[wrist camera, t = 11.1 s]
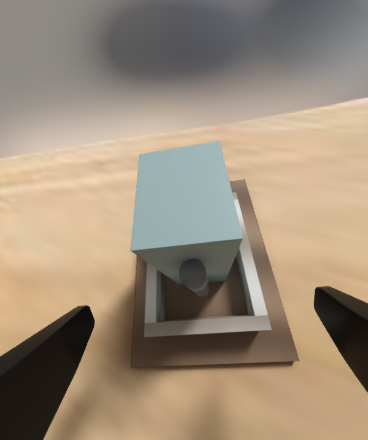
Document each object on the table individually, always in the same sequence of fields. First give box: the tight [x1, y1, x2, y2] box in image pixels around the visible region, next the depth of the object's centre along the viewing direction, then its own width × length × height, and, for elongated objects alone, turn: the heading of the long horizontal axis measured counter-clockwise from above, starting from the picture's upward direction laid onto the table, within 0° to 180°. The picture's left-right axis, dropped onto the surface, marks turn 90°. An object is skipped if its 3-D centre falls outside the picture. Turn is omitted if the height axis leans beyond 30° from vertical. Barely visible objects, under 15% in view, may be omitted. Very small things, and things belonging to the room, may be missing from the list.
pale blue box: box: [131, 141, 243, 297], centre depth 11 cm, size 6×4×10 cm, turn 3°
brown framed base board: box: [130, 179, 299, 367], centre depth 15 cm, size 16×12×3 cm
